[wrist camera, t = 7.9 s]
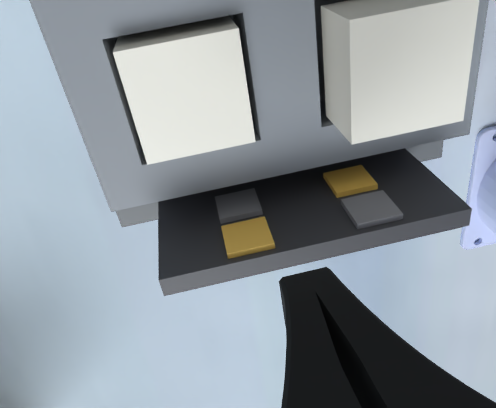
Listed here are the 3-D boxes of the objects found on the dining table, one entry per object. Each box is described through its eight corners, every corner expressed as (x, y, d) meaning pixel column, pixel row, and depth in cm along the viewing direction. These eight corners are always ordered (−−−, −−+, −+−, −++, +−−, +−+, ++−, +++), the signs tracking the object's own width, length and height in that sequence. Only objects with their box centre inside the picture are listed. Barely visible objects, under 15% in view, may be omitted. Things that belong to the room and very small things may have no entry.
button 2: (432, -16, 15) (480, -6, 13) (423, 95, 17) (463, 120, 15) (320, 5, 15) (349, 20, 13) (326, 115, 17) (351, 144, 15)
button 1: (227, 13, 16) (238, 28, 14) (243, 115, 18) (255, 141, 16) (118, 34, 16) (112, 52, 14) (148, 135, 18) (147, 164, 16)
